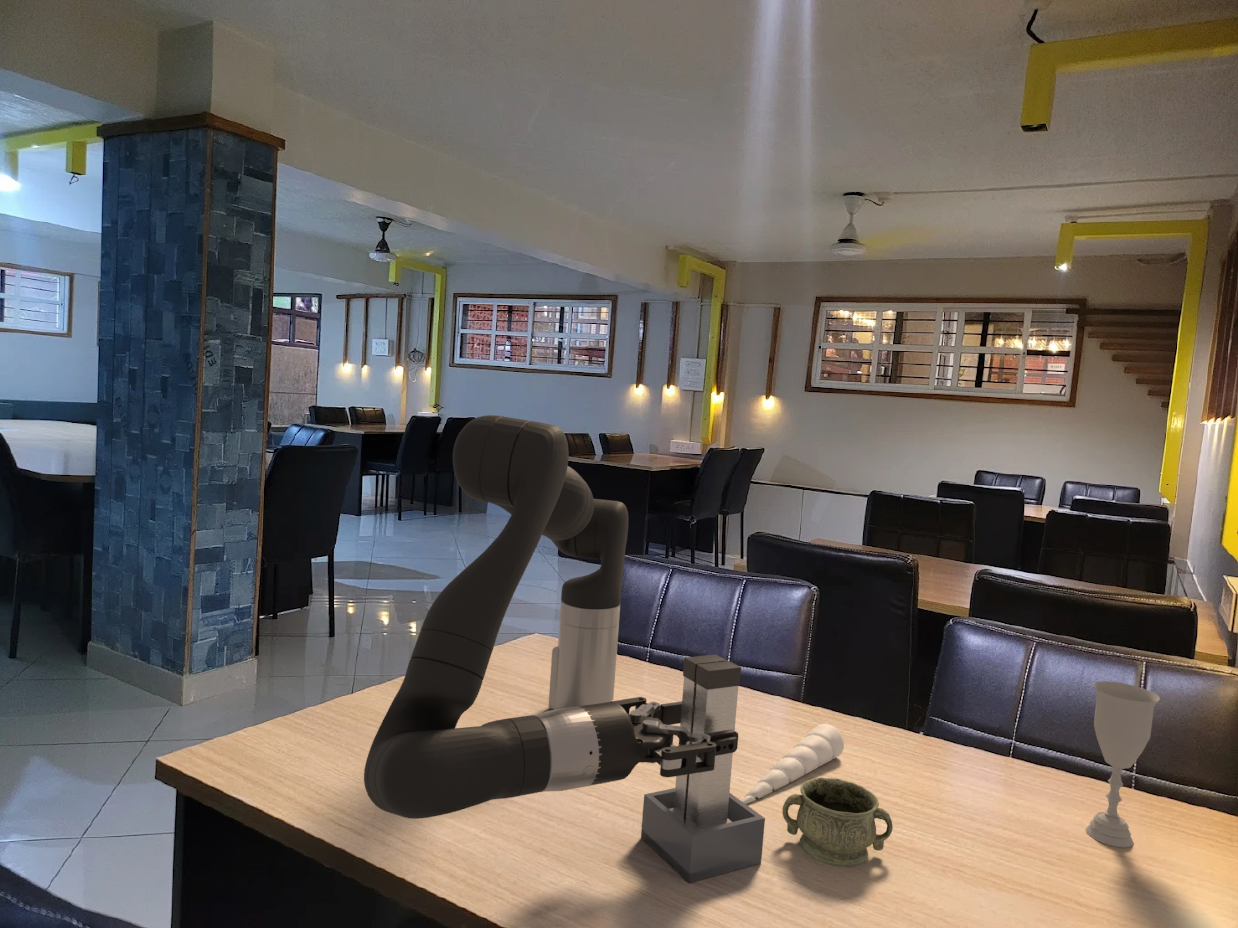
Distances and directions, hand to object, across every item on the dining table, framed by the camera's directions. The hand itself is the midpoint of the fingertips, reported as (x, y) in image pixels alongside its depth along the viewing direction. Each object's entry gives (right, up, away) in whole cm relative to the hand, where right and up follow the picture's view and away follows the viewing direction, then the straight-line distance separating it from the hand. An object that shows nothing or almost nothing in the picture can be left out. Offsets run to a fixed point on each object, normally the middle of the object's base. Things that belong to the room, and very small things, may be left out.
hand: (711, 724), depth 88 cm
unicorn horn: (+13, -14, +21) cm, 29 cm away
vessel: (+14, -15, +4) cm, 21 cm away
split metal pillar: (-1, -13, +1) cm, 13 cm away
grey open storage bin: (-1, -14, +1) cm, 14 cm away
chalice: (+50, -17, +11) cm, 54 cm away
